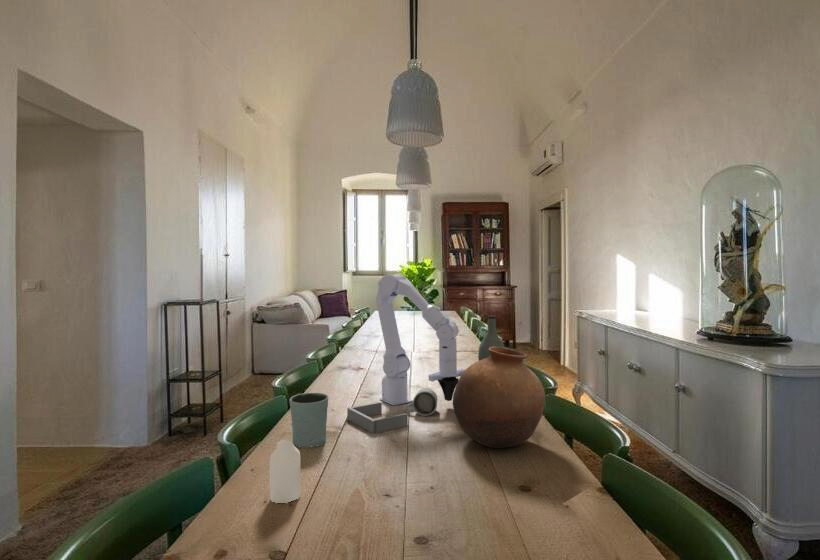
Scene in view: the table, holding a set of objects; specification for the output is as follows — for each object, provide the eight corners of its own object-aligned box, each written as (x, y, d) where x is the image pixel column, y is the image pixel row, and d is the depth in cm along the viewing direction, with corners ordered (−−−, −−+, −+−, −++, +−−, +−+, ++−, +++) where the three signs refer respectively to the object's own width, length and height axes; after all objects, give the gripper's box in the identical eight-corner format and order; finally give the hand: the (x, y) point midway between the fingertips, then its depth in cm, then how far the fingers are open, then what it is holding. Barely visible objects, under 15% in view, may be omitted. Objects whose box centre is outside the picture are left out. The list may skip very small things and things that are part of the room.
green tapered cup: (315, 433, 135) (314, 390, 135) (336, 442, 128) (336, 397, 128) (283, 442, 128) (282, 397, 128) (303, 452, 121) (302, 404, 121)
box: (347, 419, 147) (347, 407, 147) (380, 412, 154) (379, 401, 154) (373, 433, 134) (373, 421, 134) (407, 425, 141) (407, 413, 140)
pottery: (440, 436, 131) (439, 345, 131) (511, 425, 140) (510, 339, 140) (485, 467, 110) (484, 358, 110) (565, 451, 119) (564, 351, 119)
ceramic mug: (438, 408, 158) (437, 385, 158) (437, 416, 150) (436, 391, 149) (405, 409, 159) (405, 385, 158) (403, 416, 150) (402, 392, 150)
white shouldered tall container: (297, 432, 100) (302, 440, 95) (298, 489, 101) (303, 500, 95) (267, 436, 98) (271, 445, 93) (268, 494, 98) (272, 507, 93)
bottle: (494, 411, 154) (493, 317, 153) (472, 405, 161) (471, 315, 160) (512, 405, 160) (511, 315, 160) (490, 400, 167) (489, 313, 166)
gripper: (437, 363, 151) (438, 406, 152) (472, 358, 159) (473, 399, 160) (424, 360, 157) (425, 401, 158) (459, 355, 165) (459, 394, 166)
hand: (448, 400), depth 159 cm, fingers closed
